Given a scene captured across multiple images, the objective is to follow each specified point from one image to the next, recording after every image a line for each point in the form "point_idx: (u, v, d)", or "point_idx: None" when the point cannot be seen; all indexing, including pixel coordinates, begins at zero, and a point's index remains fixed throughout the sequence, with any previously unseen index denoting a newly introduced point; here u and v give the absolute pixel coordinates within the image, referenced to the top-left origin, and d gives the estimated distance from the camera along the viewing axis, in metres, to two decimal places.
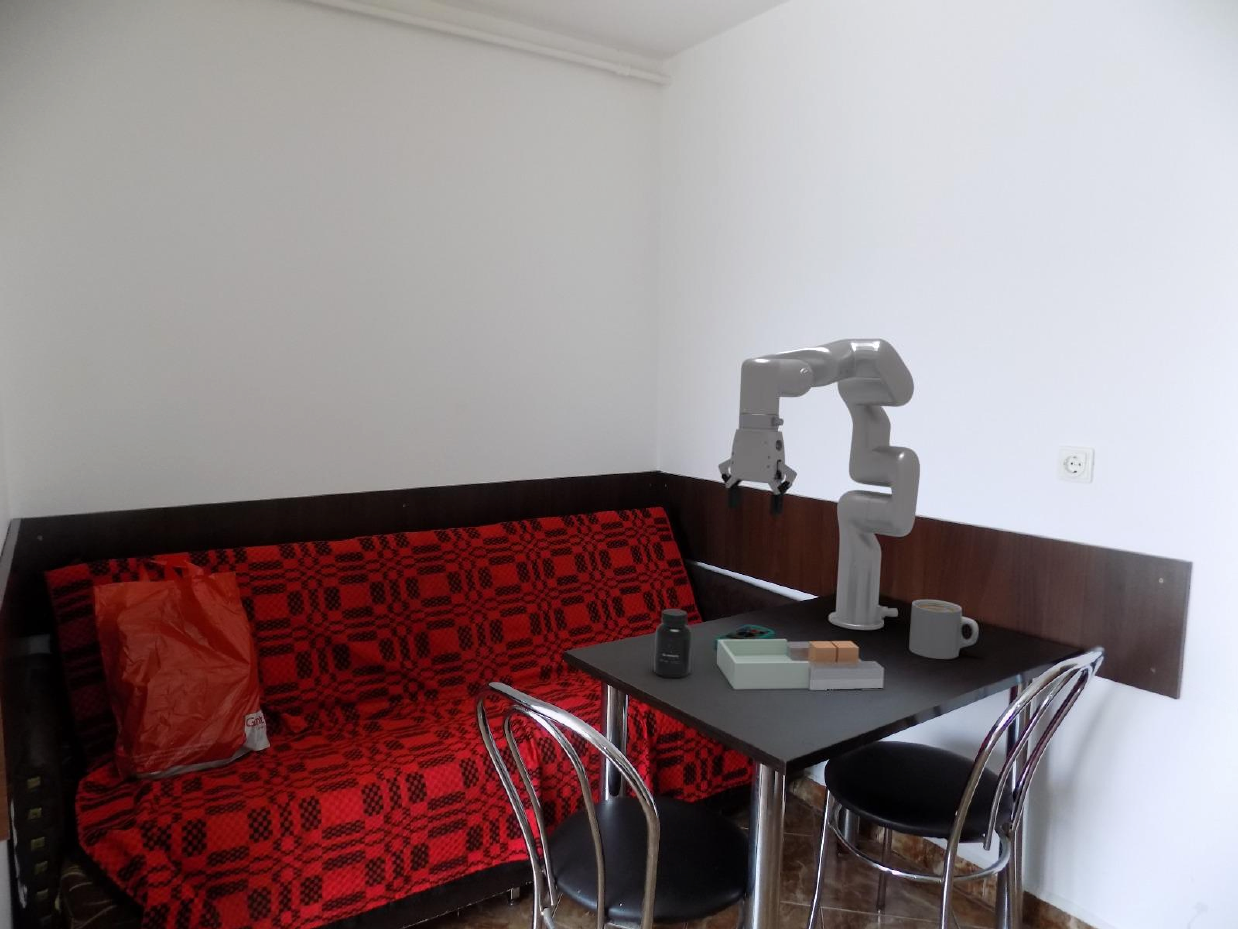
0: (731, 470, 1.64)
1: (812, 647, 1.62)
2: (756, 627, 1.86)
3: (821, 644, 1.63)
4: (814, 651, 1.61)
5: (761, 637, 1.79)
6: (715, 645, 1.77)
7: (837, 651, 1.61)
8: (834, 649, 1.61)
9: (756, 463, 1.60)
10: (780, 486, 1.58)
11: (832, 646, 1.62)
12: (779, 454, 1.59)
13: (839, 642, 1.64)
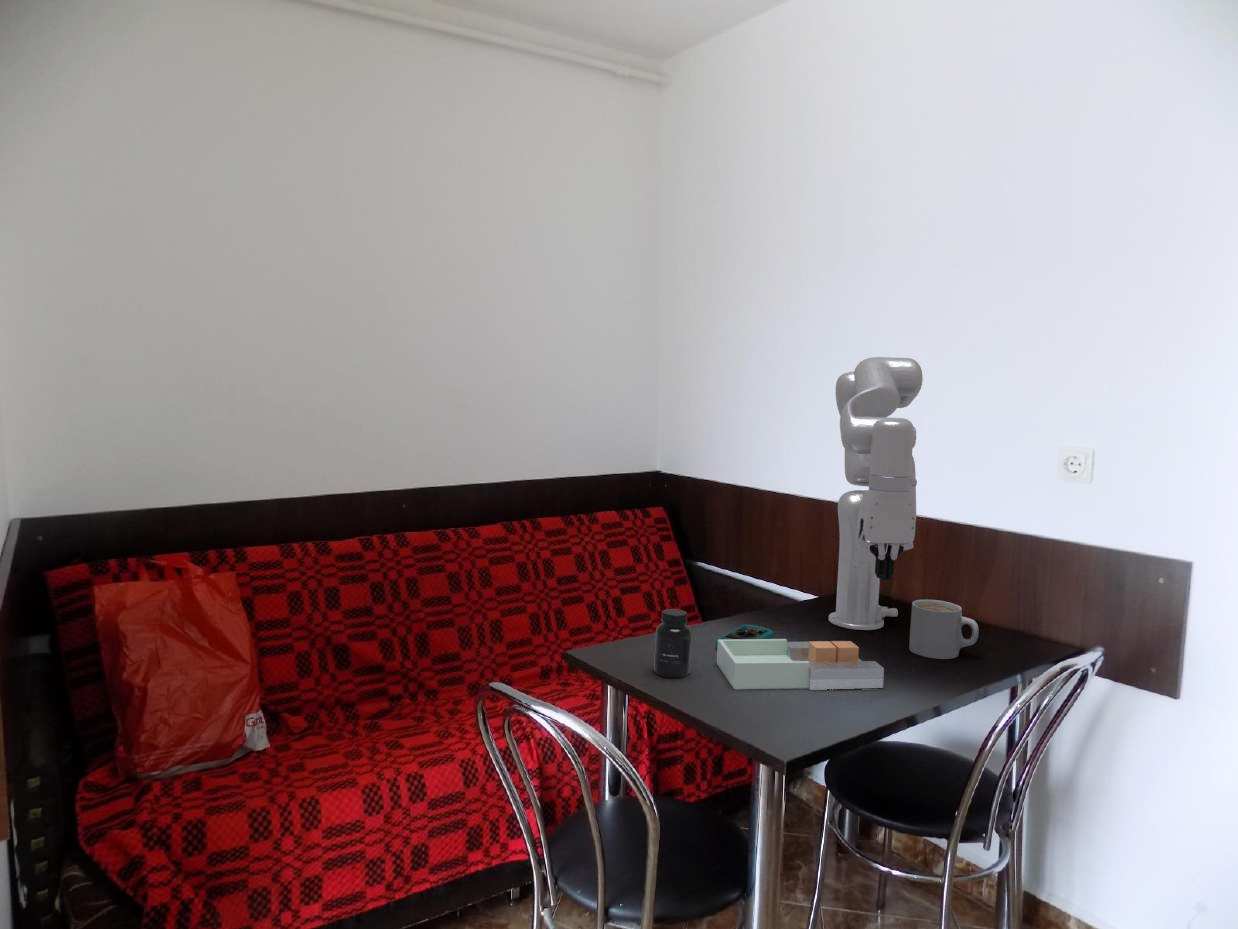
0: (868, 535, 1.59)
1: (812, 647, 1.62)
2: (754, 627, 1.86)
3: (821, 644, 1.63)
4: (814, 651, 1.61)
5: (761, 637, 1.80)
6: (716, 646, 1.76)
7: (837, 651, 1.61)
8: (834, 649, 1.61)
9: (900, 525, 1.59)
10: None
11: (832, 646, 1.62)
12: None
13: (839, 642, 1.64)
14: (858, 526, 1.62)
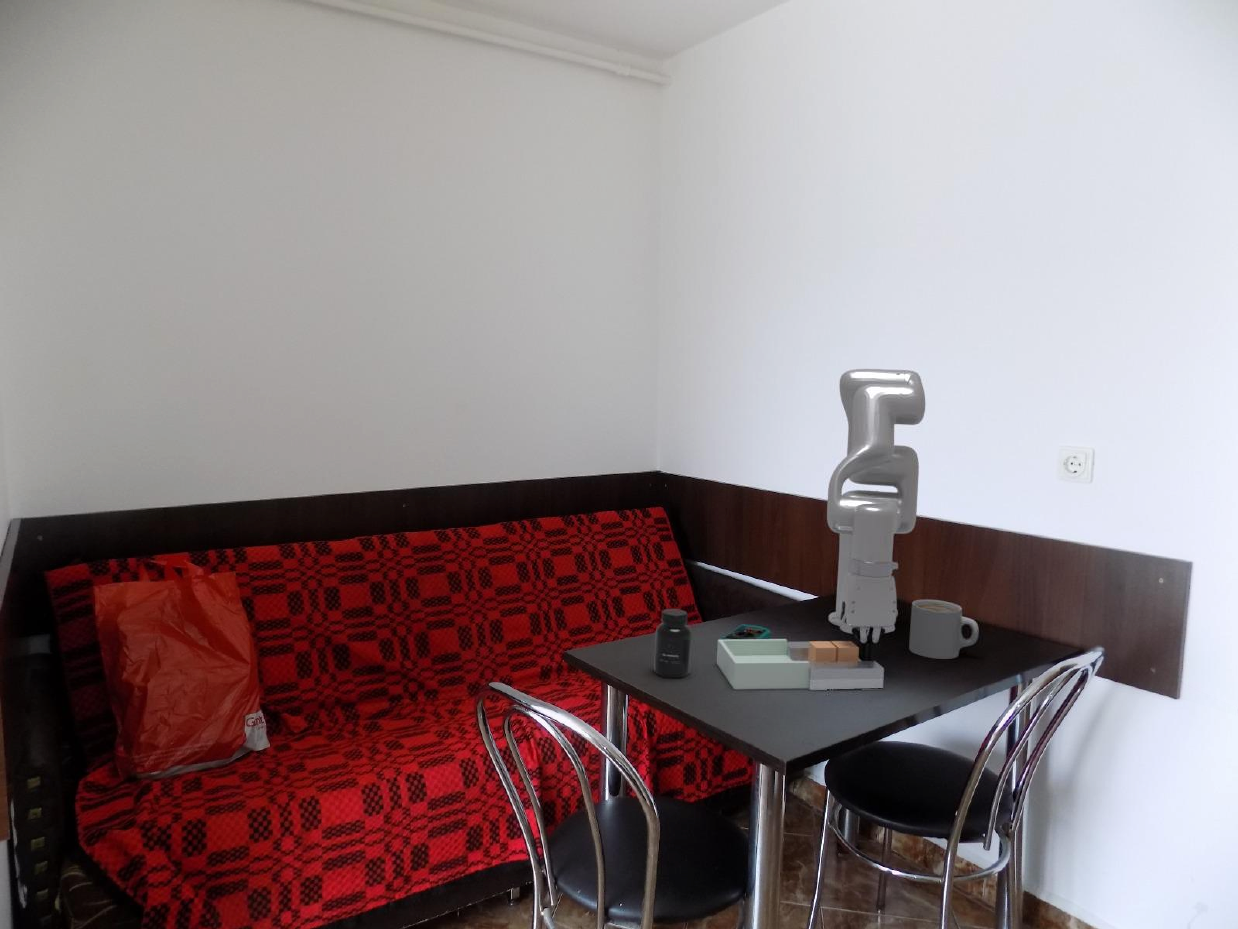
0: (850, 619, 1.60)
1: (812, 647, 1.62)
2: (751, 626, 1.86)
3: (821, 644, 1.63)
4: (814, 651, 1.61)
5: (761, 636, 1.80)
6: None
7: (837, 651, 1.61)
8: (834, 649, 1.61)
9: (881, 609, 1.61)
10: None
11: (832, 646, 1.62)
12: None
13: (839, 642, 1.64)
14: (840, 608, 1.64)
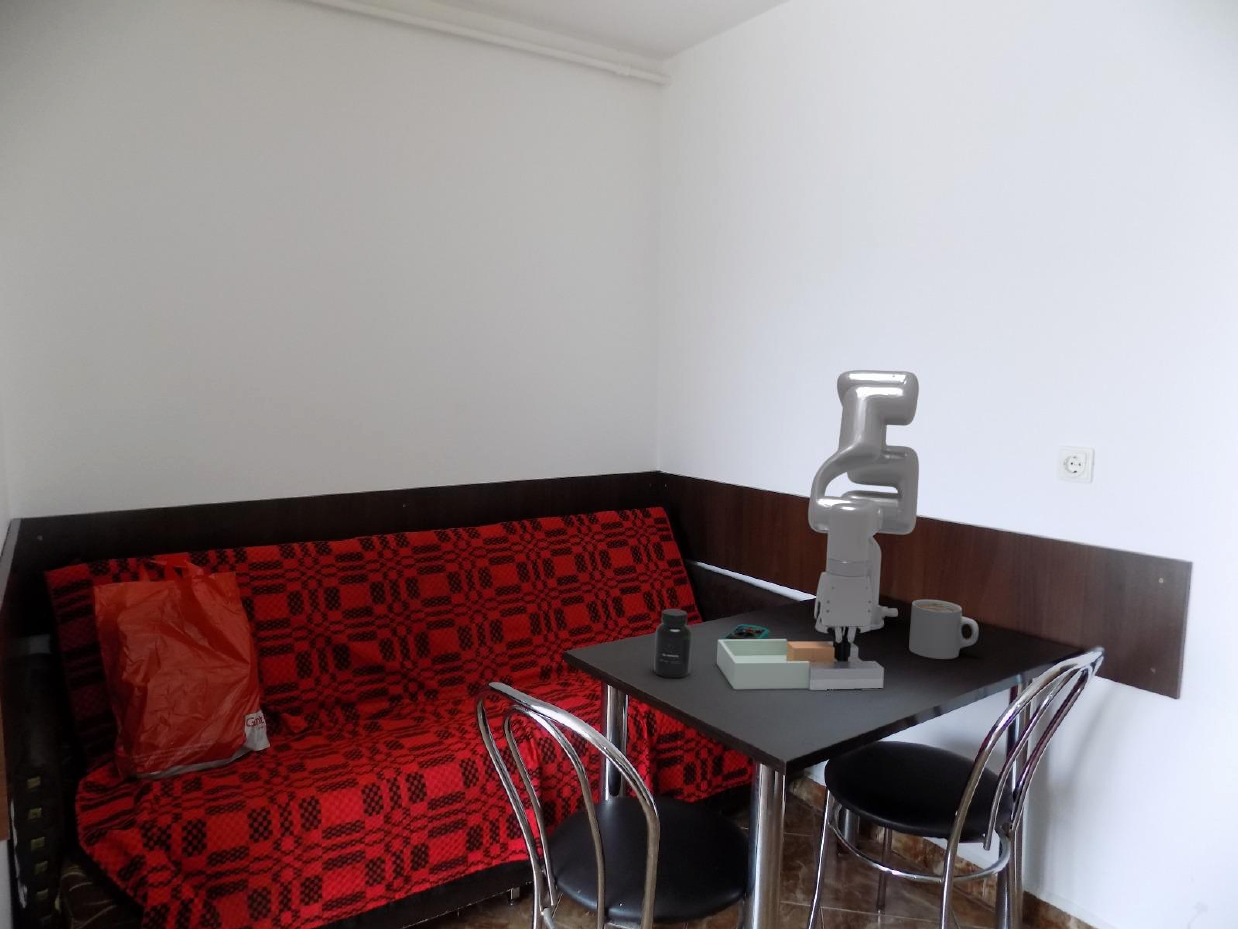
0: (825, 618, 1.60)
1: (790, 647, 1.61)
2: (750, 626, 1.86)
3: (799, 644, 1.62)
4: (792, 651, 1.61)
5: (760, 636, 1.80)
6: None
7: None
8: (812, 649, 1.60)
9: (856, 609, 1.60)
10: None
11: (810, 646, 1.61)
12: None
13: (815, 642, 1.63)
14: (815, 608, 1.63)
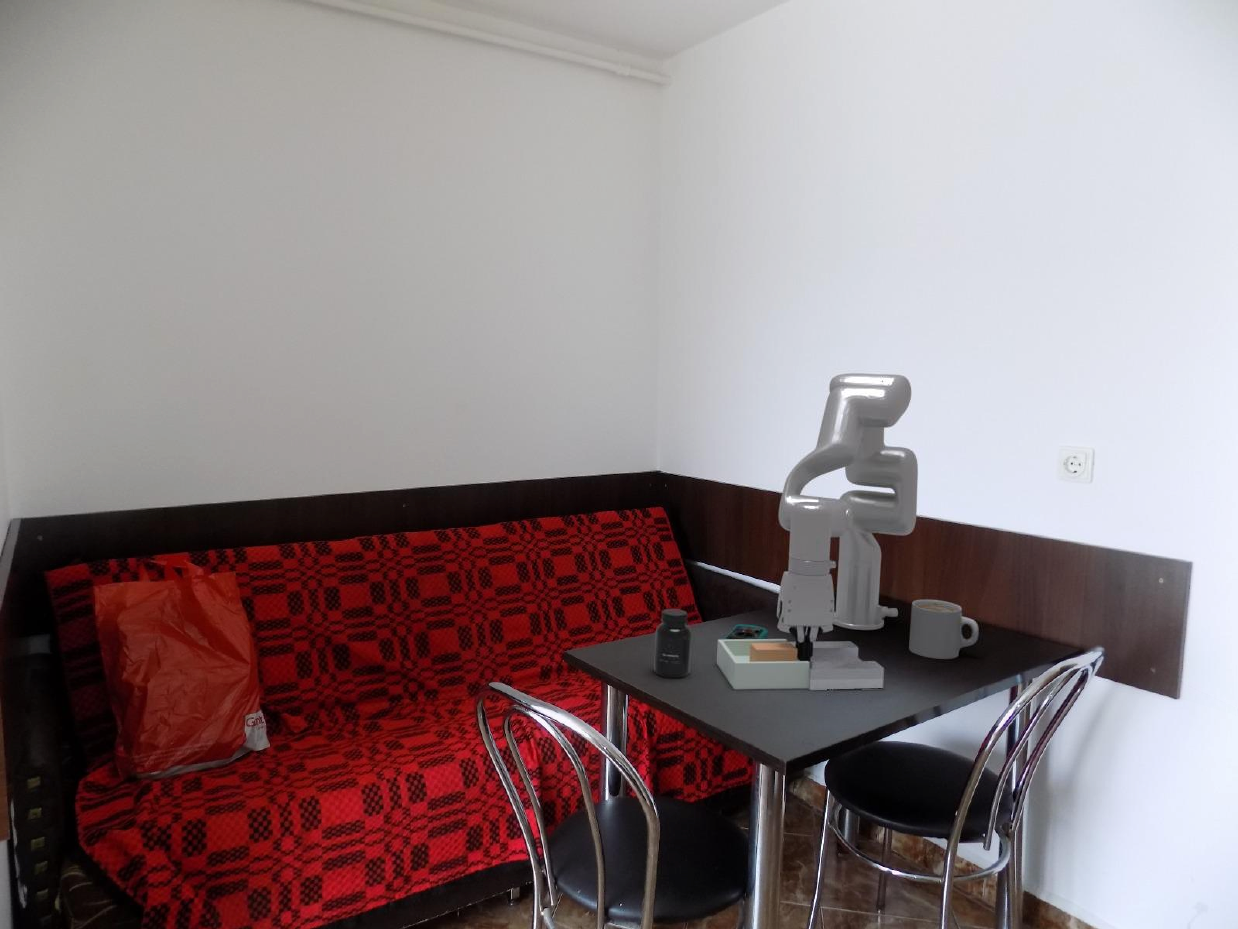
0: (787, 618, 1.59)
1: (753, 649, 1.60)
2: (748, 626, 1.86)
3: (762, 645, 1.61)
4: (755, 653, 1.59)
5: (760, 636, 1.80)
6: None
7: None
8: (775, 651, 1.59)
9: (818, 608, 1.59)
10: None
11: (773, 648, 1.60)
12: None
13: (779, 644, 1.62)
14: (778, 608, 1.62)
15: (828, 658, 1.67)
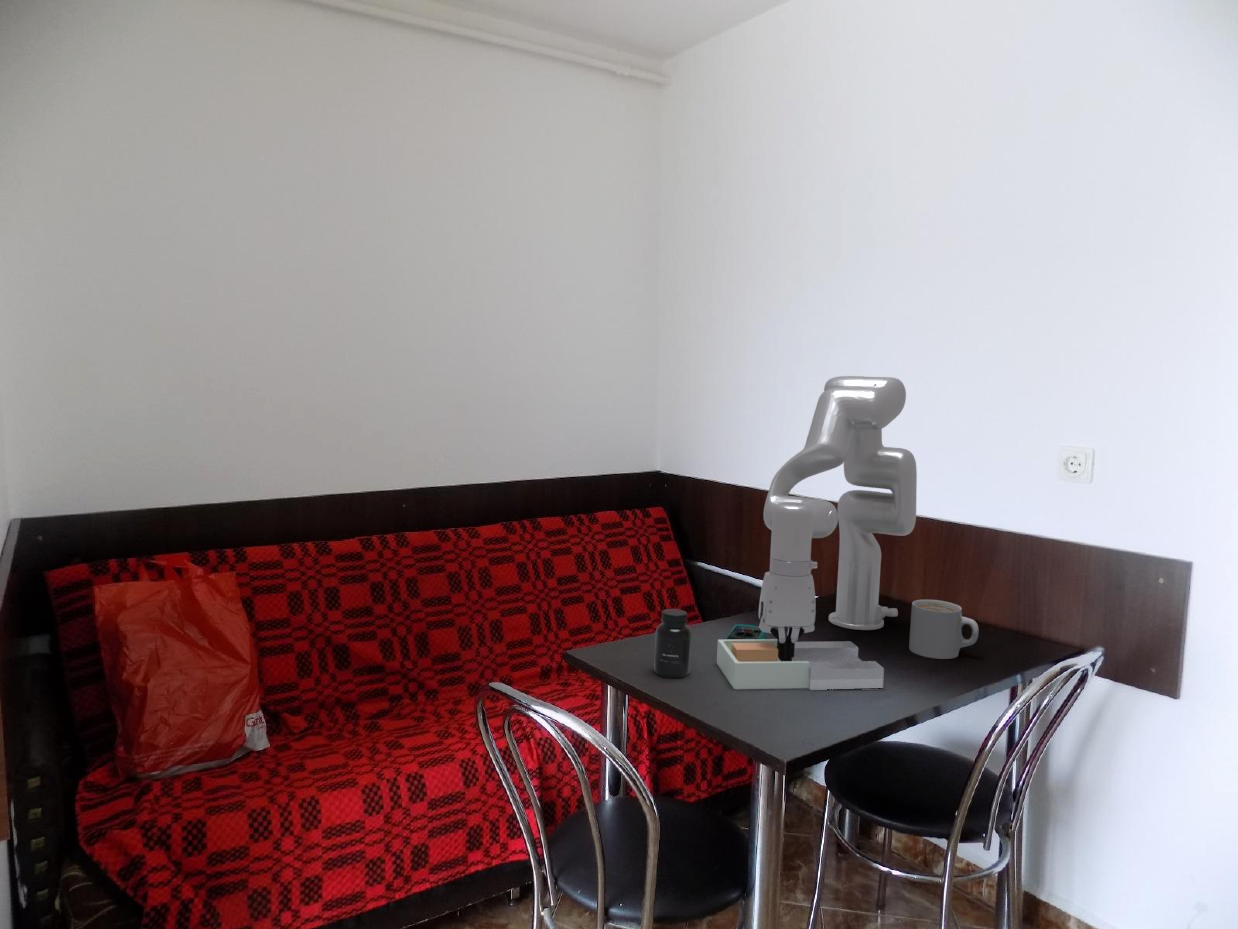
0: (768, 619, 1.58)
1: (734, 648, 1.60)
2: (746, 626, 1.86)
3: (743, 645, 1.61)
4: (735, 652, 1.59)
5: (760, 636, 1.80)
6: None
7: None
8: (755, 651, 1.59)
9: (799, 609, 1.59)
10: None
11: (754, 648, 1.59)
12: None
13: (760, 644, 1.62)
14: (759, 608, 1.62)
15: (828, 658, 1.67)
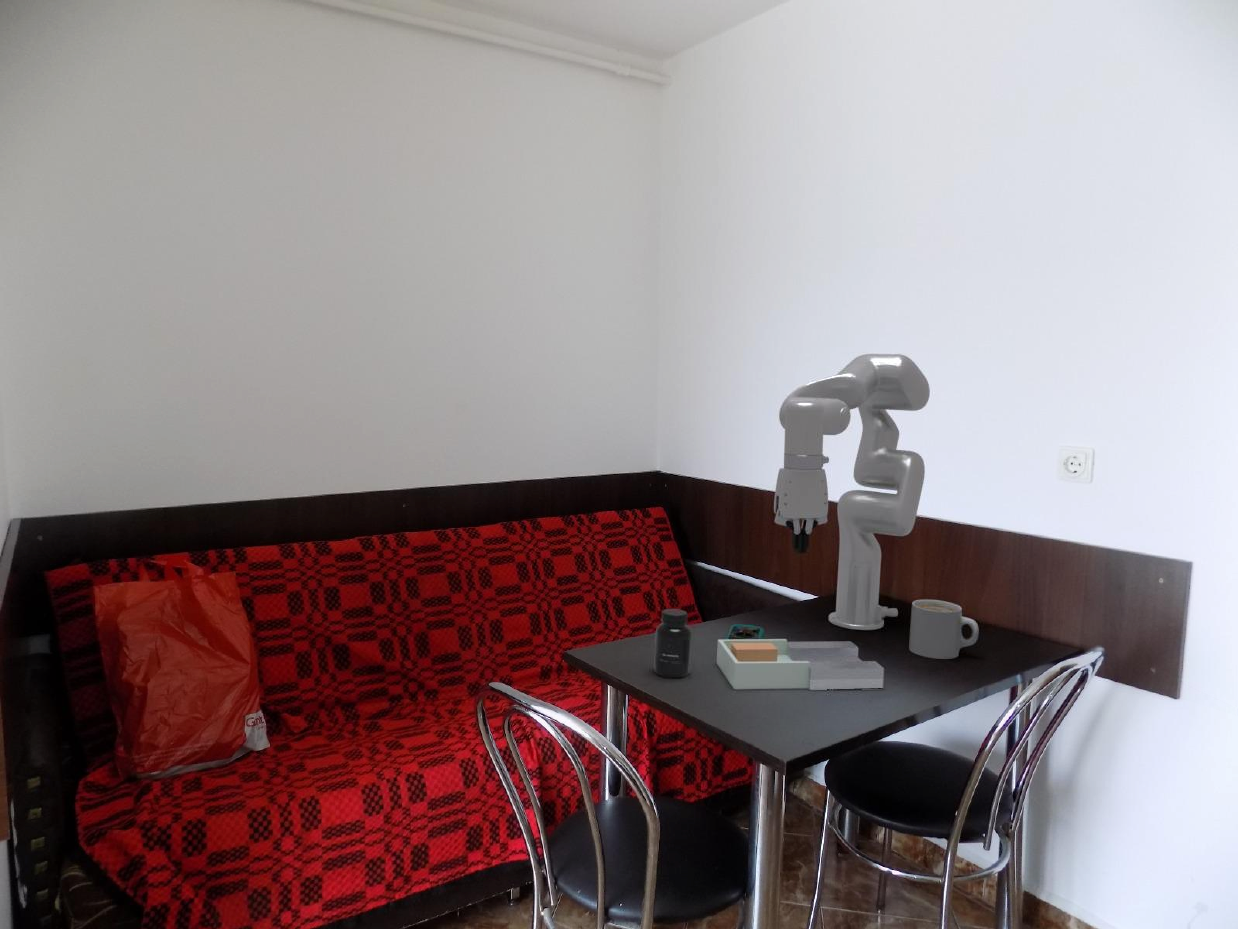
0: (783, 511, 1.67)
1: (734, 648, 1.60)
2: (744, 626, 1.86)
3: (742, 645, 1.61)
4: (735, 652, 1.59)
5: (759, 636, 1.80)
6: None
7: None
8: (755, 651, 1.59)
9: (813, 501, 1.67)
10: None
11: (753, 648, 1.59)
12: None
13: (759, 644, 1.62)
14: (775, 503, 1.70)
15: (828, 658, 1.67)
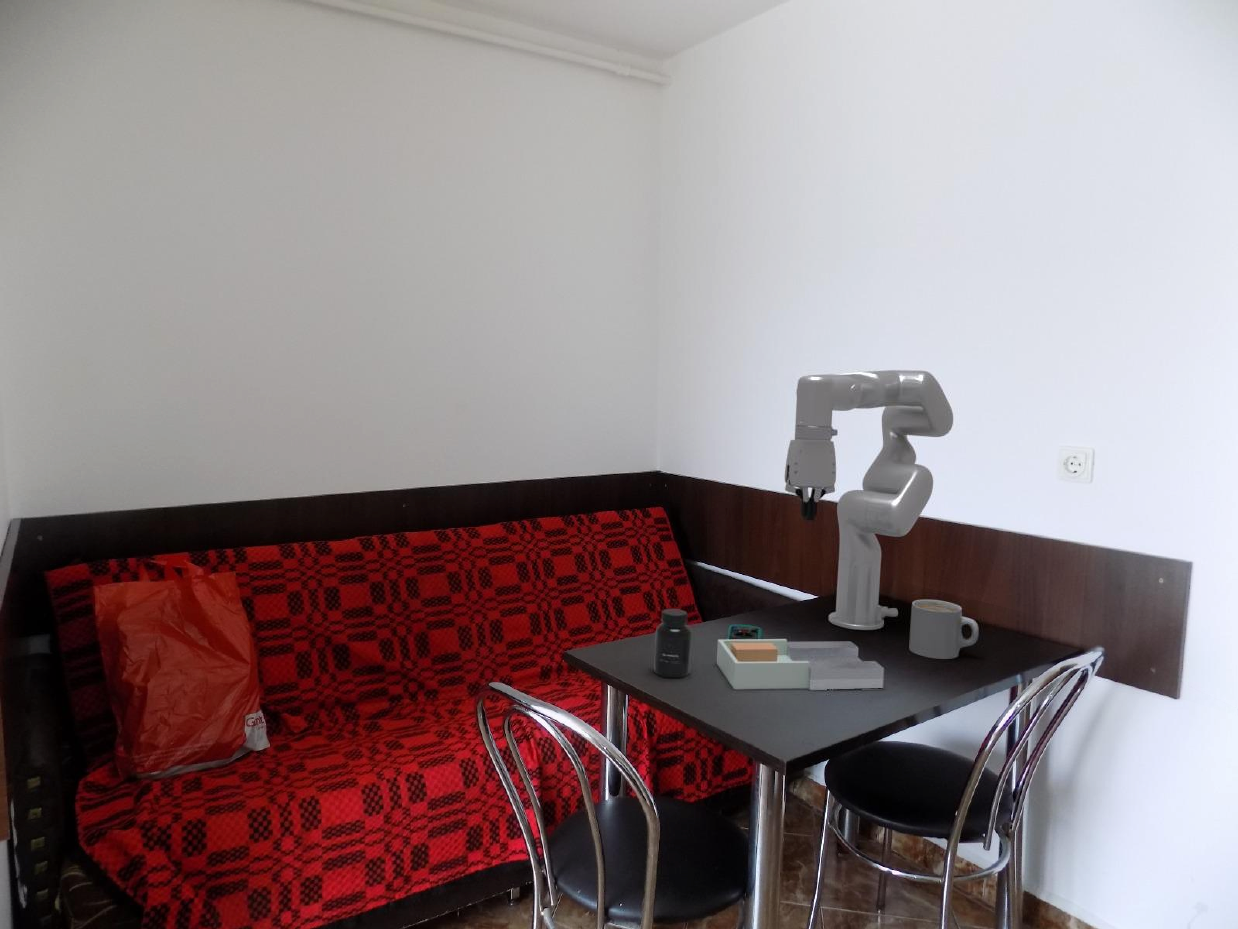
0: (793, 479, 1.77)
1: (734, 648, 1.60)
2: (742, 626, 1.86)
3: (742, 645, 1.61)
4: (735, 652, 1.59)
5: (759, 635, 1.81)
6: None
7: None
8: (755, 651, 1.59)
9: (822, 470, 1.77)
10: None
11: (753, 648, 1.59)
12: None
13: (759, 644, 1.62)
14: (785, 472, 1.80)
15: (828, 658, 1.67)
